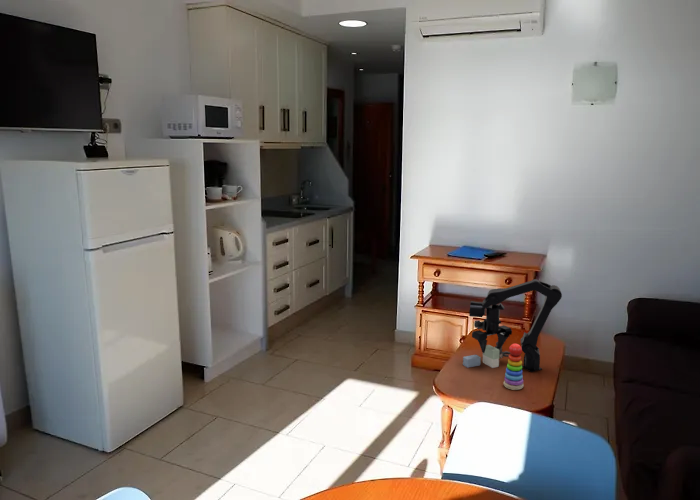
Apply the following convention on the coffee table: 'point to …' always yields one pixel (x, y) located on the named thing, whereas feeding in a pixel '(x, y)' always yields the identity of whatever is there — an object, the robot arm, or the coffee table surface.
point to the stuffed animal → (502, 352)
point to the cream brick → (491, 361)
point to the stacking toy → (514, 369)
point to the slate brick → (471, 361)
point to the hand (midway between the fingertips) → (491, 350)
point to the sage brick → (491, 352)
